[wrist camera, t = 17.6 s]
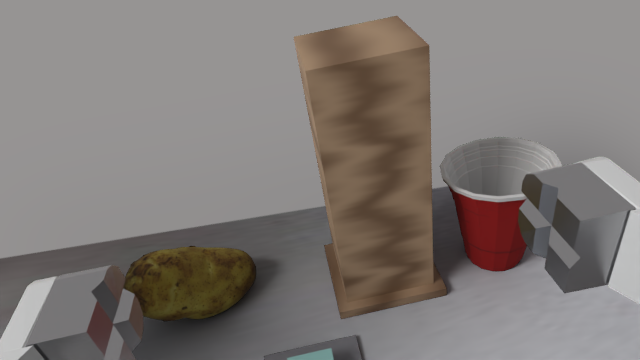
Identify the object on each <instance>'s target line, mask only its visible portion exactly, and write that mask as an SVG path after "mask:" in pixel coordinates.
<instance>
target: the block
mask: <svg viewBox="0 0 640 360" xmlns="http://www.w3.org/2000/svg"><path fill="white" fill-rule="evenodd" d="M287 360H334V357H333V353H332V349H331V348H329V349H324V350H320V351H315V352H311V353H307V354H302V355H298V356H294V357H289V358H287Z"/></svg>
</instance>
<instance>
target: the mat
mask: <svg viewBox="0 0 640 360" xmlns="http://www.w3.org/2000/svg"><path fill="white" fill-rule="evenodd" d="M329 348H331V349H332V353H333V357H334V360H362V358H361V354H360V350H359V346H358V342H357V339H356V335H353V336H349V337H344V338H340V339H336V340H331V341H327V342H322V343H318V344H314V345H309V346H305V347H301V348H296V349H292V350H287V351H283V352H279V353H274V354H270V355H266V356H264V360H287V358H289V357H294V356H298V355H302V354H307V353H311V352H315V351H320V350H324V349H329Z"/></svg>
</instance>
